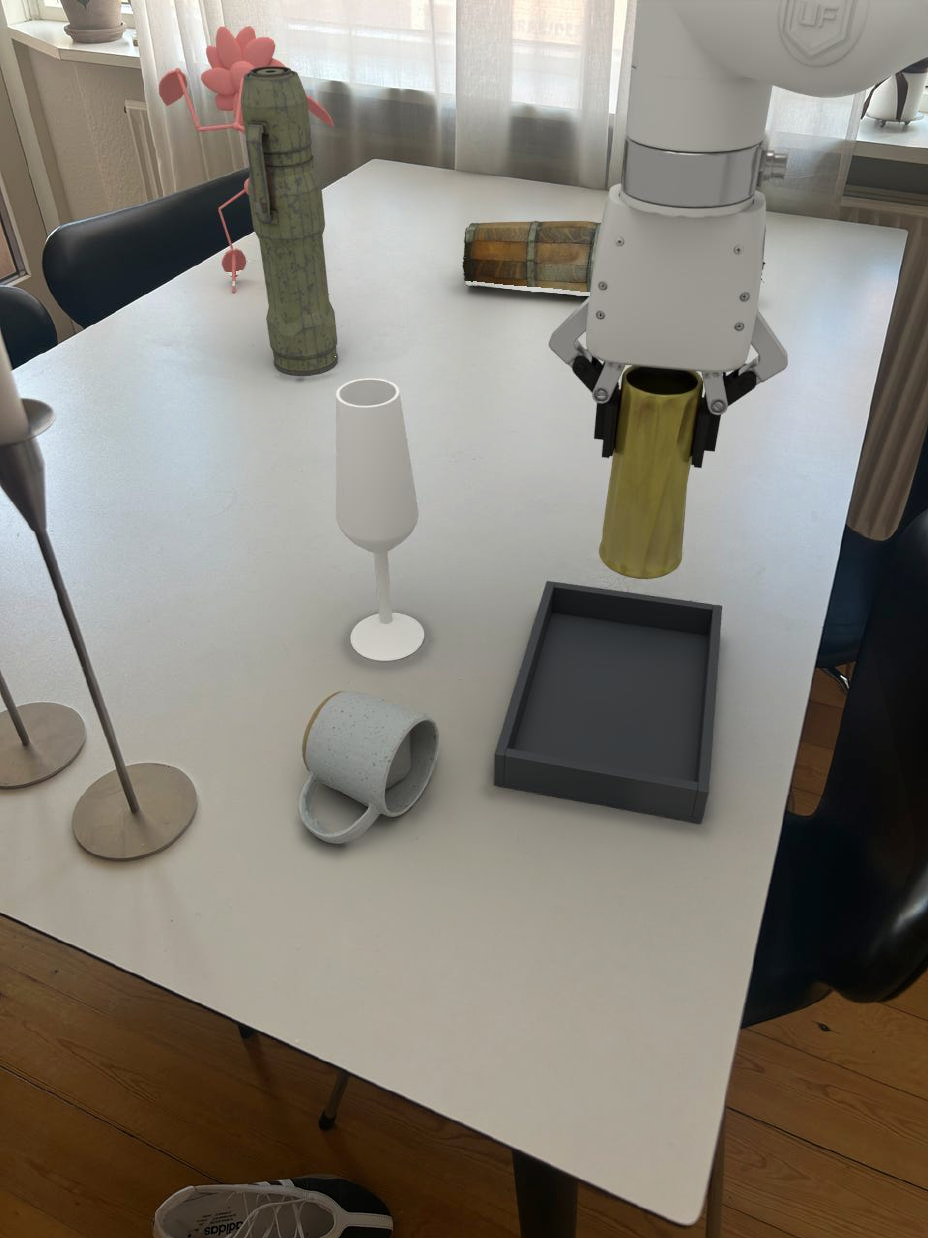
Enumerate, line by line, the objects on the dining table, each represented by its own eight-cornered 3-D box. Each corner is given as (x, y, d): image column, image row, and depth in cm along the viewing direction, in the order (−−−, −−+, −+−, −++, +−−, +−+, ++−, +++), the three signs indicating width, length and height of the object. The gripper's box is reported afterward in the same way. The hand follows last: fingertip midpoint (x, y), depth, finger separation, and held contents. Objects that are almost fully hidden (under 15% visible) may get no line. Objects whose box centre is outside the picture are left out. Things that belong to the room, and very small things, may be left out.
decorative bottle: (453, 280, 145) (762, 303, 135) (460, 206, 143) (775, 224, 133) (469, 293, 155) (757, 315, 146) (476, 223, 153) (769, 241, 144)
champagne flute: (420, 609, 90) (408, 369, 75) (428, 656, 85) (417, 410, 70) (348, 616, 89) (321, 375, 74) (352, 664, 84) (323, 417, 69)
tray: (716, 636, 87) (722, 605, 84) (701, 824, 71) (708, 792, 68) (544, 610, 90) (546, 580, 87) (493, 785, 74) (494, 753, 71)
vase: (664, 590, 68) (691, 407, 59) (585, 565, 71) (599, 386, 62) (693, 546, 72) (723, 368, 63) (617, 524, 75) (635, 350, 66)
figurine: (341, 301, 147) (315, 36, 125) (181, 292, 151) (128, 33, 128) (365, 265, 159) (346, 17, 136) (216, 257, 162) (174, 14, 140)
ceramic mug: (355, 731, 78) (346, 661, 73) (443, 768, 75) (439, 698, 70) (275, 824, 71) (258, 755, 66) (367, 869, 68) (357, 800, 63)
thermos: (351, 346, 135) (326, 61, 112) (321, 383, 126) (286, 82, 103) (292, 340, 136) (255, 58, 114) (258, 376, 128) (211, 79, 105)
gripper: (843, 160, 56) (781, 439, 67) (550, 146, 59) (539, 414, 71) (852, 200, 50) (782, 496, 62) (527, 181, 53) (519, 467, 65)
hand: (653, 450), depth 66 cm, fingers closed on vase, 5 cm apart
